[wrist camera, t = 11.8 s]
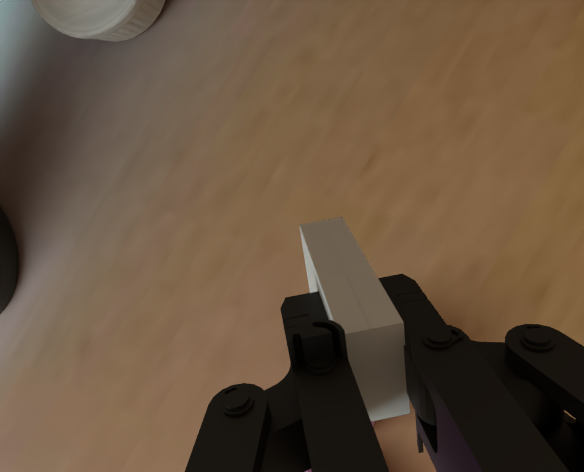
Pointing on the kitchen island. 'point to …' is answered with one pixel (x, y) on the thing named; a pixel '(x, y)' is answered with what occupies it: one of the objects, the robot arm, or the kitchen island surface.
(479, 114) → the kitchen island surface
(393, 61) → the kitchen island surface
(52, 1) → the ramekin
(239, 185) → the kitchen island surface
